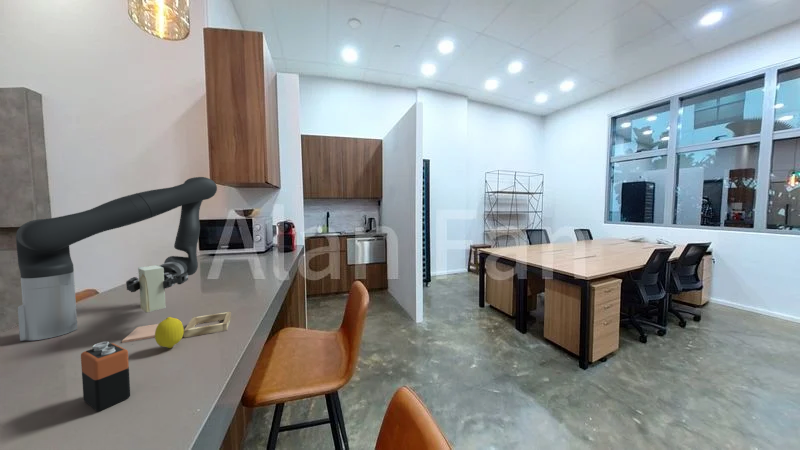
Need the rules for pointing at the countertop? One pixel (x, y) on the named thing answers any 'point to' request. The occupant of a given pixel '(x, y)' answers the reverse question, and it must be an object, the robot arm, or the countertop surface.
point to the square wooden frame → (192, 331)
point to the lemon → (169, 332)
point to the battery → (105, 375)
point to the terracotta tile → (141, 333)
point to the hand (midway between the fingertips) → (149, 286)
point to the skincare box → (151, 288)
